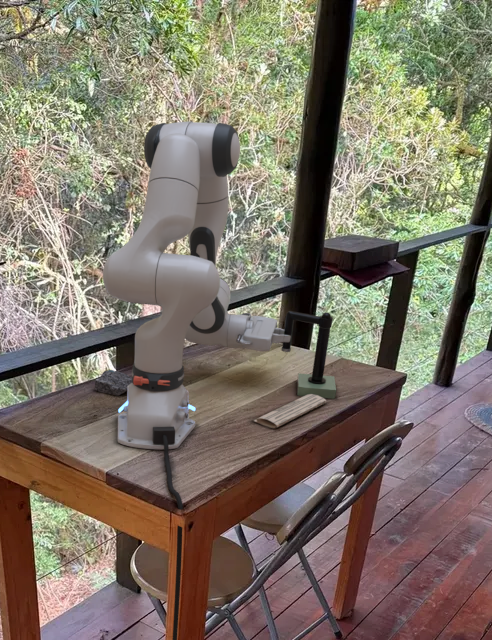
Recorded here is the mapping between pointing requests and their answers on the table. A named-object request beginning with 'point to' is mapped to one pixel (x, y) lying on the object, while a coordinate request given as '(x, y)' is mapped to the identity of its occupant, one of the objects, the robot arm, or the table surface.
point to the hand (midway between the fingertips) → (290, 336)
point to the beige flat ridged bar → (290, 411)
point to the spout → (322, 321)
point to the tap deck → (316, 386)
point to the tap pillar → (320, 356)
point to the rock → (113, 382)
